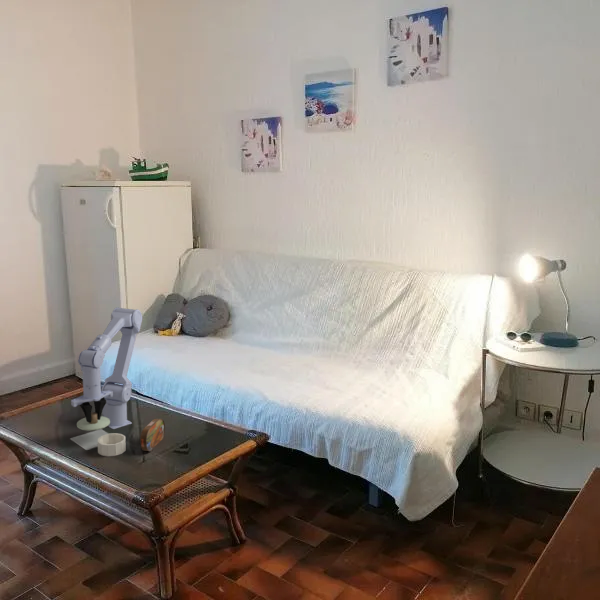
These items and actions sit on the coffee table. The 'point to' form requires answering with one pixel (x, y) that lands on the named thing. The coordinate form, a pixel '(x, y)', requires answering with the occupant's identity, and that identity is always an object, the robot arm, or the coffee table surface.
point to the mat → (89, 439)
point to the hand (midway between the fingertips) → (93, 420)
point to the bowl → (111, 444)
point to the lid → (93, 423)
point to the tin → (152, 434)
